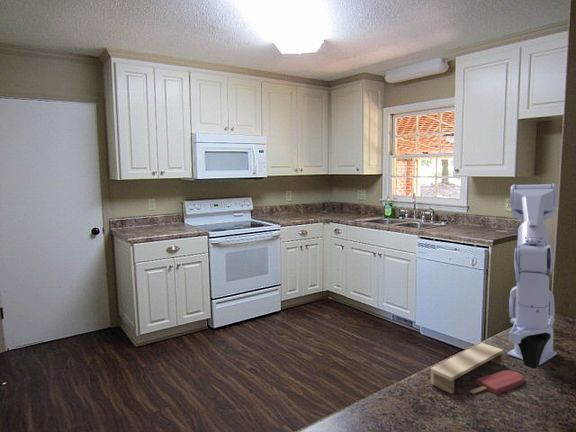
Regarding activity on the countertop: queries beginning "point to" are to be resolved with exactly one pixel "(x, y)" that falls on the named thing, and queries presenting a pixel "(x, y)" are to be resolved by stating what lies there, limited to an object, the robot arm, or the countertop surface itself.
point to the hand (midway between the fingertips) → (531, 366)
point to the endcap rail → (463, 365)
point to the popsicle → (499, 382)
